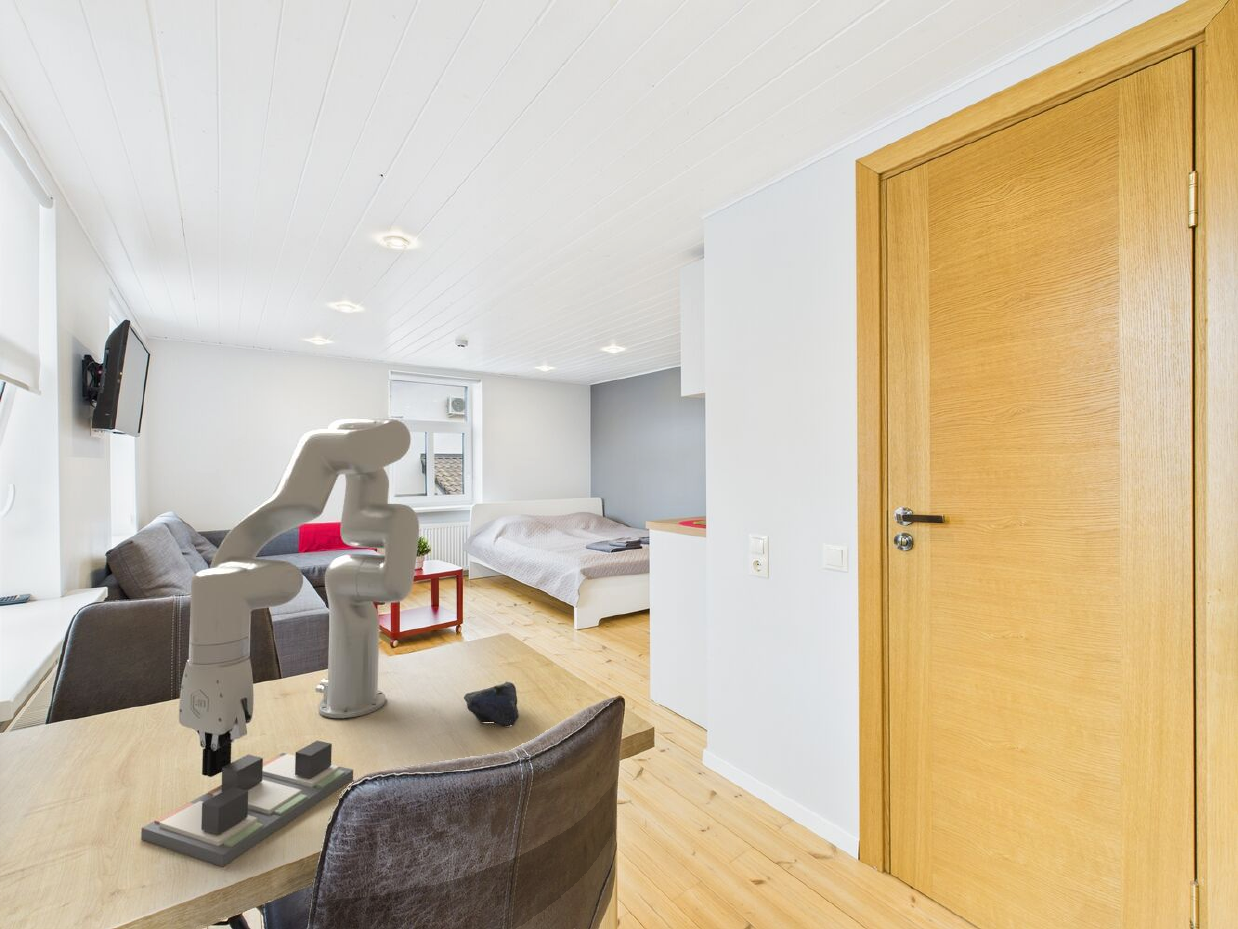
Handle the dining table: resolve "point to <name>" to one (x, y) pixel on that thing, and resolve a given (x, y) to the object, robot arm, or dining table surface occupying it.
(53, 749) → the dining table surface
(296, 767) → the block
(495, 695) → the rock
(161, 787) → the dining table surface
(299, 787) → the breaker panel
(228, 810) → the block
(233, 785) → the block
